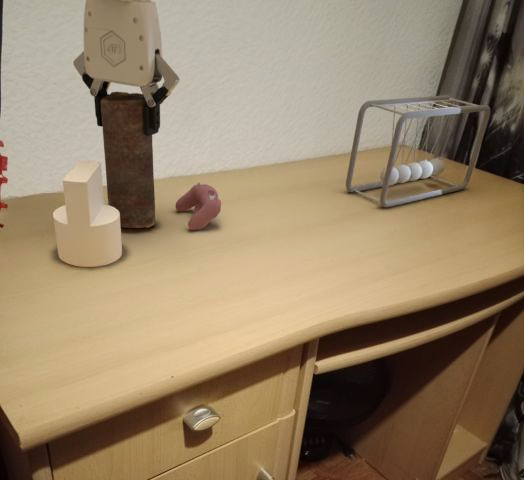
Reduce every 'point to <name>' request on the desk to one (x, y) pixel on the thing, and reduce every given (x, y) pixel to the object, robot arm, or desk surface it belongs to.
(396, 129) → the newton's cradle
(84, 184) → the base with upright slab
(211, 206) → the video game controller
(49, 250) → the desk surface
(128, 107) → the rusty brown cylinder
